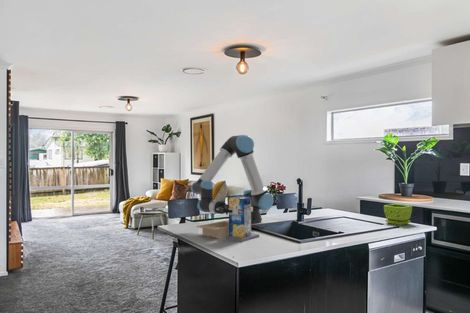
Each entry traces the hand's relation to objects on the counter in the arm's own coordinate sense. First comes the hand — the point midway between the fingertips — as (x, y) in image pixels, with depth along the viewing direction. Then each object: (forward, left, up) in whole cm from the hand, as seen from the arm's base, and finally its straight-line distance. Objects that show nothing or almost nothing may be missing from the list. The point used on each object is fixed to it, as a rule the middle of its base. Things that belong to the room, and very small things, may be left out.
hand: (245, 210), depth 203 cm
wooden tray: (0, -18, -16) cm, 24 cm away
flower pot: (-104, +53, -16) cm, 118 cm away
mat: (0, -2, -16) cm, 16 cm away
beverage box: (+2, -3, -15) cm, 15 cm away
